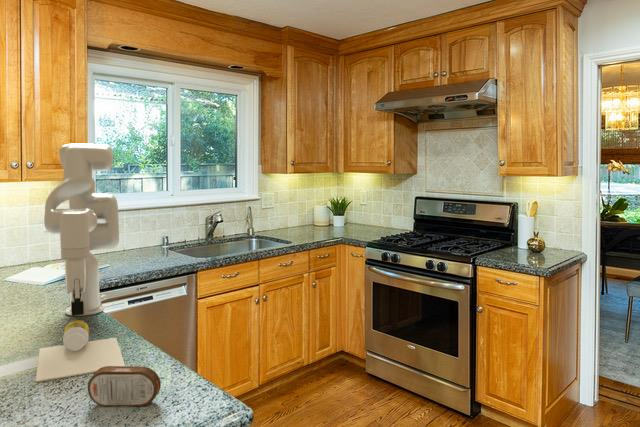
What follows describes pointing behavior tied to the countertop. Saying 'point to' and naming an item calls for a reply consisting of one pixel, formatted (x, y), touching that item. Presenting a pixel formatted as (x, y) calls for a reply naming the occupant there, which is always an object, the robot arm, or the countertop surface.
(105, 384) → the tin
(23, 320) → the countertop surface
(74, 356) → the mat
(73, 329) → the pill bottle
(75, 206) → the robot arm
